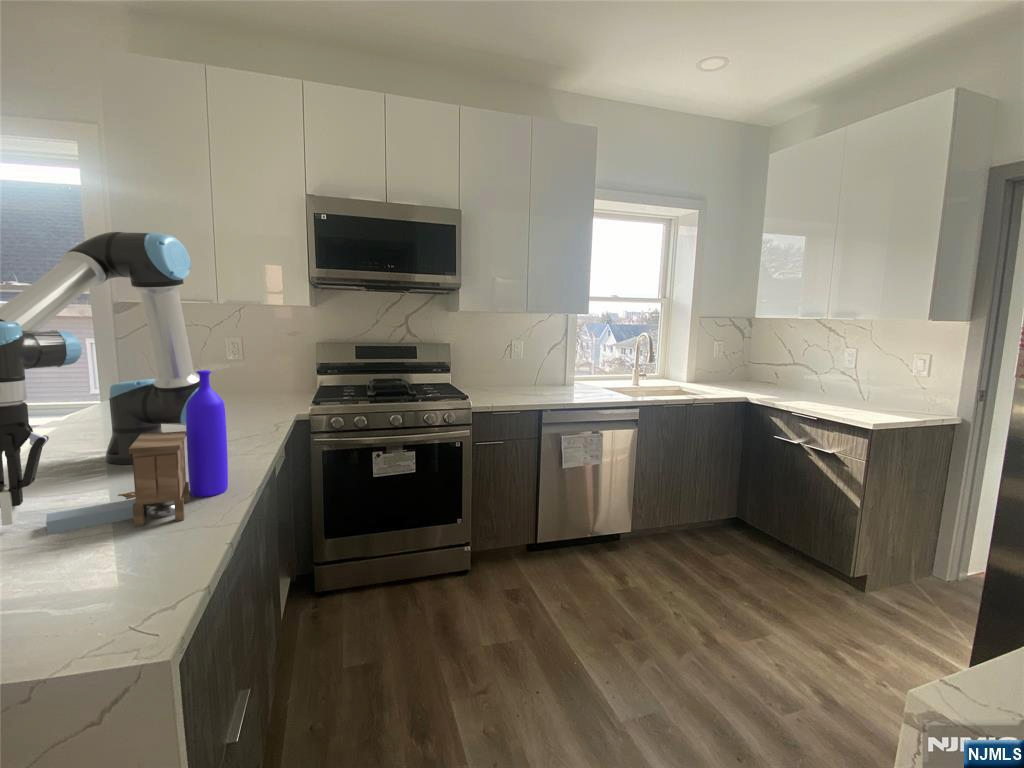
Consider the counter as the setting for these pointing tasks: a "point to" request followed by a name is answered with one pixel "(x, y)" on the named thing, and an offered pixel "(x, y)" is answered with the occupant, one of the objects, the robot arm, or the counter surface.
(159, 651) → the counter surface
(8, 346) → the robot arm
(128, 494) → the saw handle
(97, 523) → the batten
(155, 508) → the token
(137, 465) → the cabinet
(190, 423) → the bottle
